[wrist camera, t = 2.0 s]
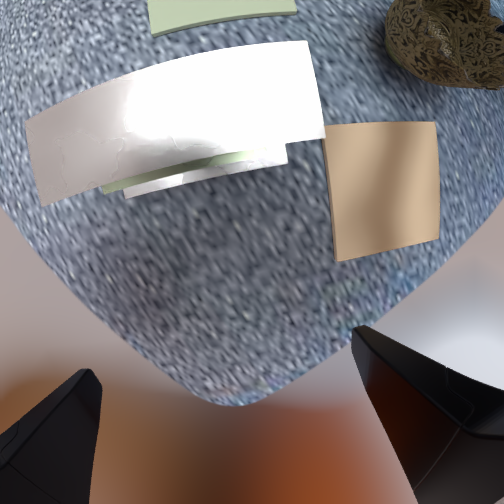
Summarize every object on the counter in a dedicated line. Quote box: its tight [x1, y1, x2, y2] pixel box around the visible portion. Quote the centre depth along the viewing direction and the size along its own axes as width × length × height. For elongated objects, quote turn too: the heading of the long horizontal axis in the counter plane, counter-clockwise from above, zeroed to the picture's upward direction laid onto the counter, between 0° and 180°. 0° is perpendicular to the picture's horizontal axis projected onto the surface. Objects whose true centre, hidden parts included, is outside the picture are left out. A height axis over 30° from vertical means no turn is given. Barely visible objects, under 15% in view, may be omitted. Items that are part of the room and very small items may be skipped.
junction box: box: [25, 41, 326, 207], centre depth 12 cm, size 10×5×10 cm, turn 100°
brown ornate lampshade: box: [384, 0, 504, 90], centre depth 11 cm, size 8×7×8 cm
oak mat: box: [321, 121, 440, 262], centre depth 18 cm, size 9×9×1 cm
